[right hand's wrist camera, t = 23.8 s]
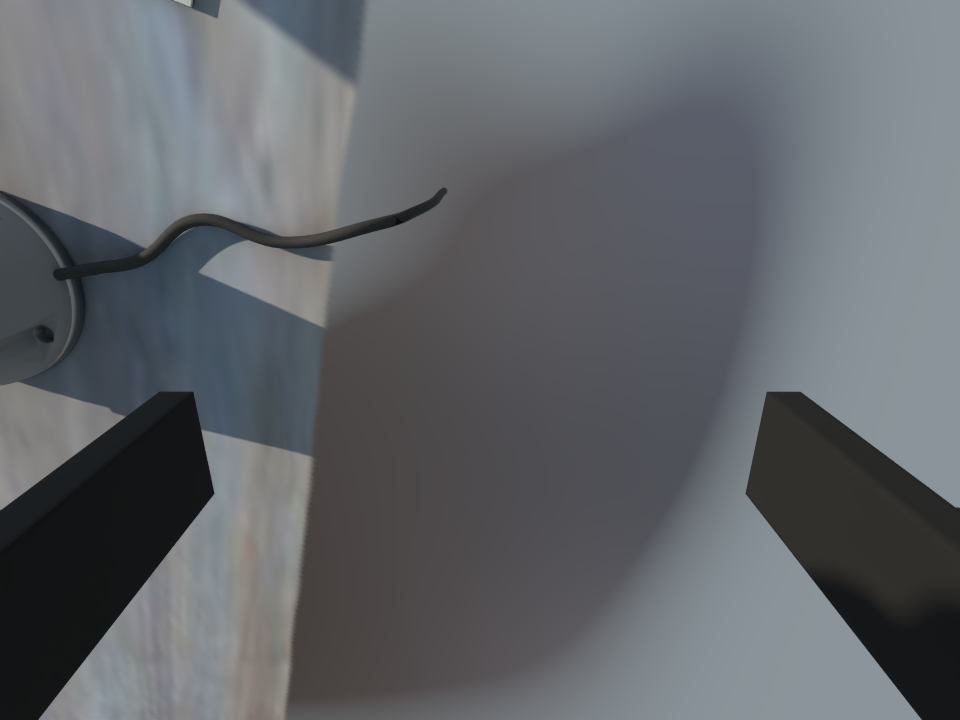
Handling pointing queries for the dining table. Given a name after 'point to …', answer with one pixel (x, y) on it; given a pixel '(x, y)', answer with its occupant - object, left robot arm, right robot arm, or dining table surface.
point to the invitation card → (185, 2)
